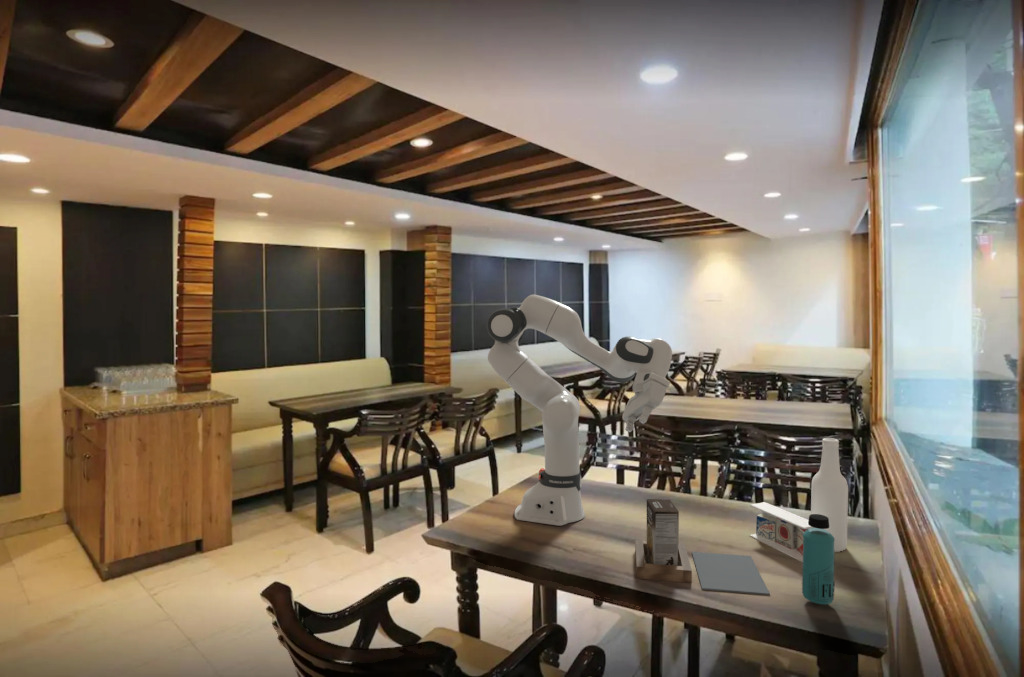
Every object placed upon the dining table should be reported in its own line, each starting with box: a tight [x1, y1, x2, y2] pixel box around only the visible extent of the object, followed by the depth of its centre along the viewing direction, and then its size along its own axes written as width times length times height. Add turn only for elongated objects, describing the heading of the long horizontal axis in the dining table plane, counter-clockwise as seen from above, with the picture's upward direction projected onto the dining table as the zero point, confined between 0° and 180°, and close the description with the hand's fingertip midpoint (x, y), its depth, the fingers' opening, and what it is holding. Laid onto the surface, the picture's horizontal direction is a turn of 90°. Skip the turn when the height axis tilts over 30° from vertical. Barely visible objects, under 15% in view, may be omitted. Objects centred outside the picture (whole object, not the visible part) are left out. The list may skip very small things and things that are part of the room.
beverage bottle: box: [801, 513, 836, 605], centre depth 126 cm, size 6×7×20 cm
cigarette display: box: [749, 501, 814, 563], centre depth 156 cm, size 20×6×9 cm, turn 21°
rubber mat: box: [691, 551, 771, 596], centre depth 142 cm, size 15×20×1 cm
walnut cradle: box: [634, 539, 693, 584], centre depth 146 cm, size 13×16×3 cm
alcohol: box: [810, 437, 849, 553], centre depth 156 cm, size 9×9×30 cm
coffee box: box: [646, 498, 680, 566], centre depth 145 cm, size 9×6×16 cm
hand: (635, 426), depth 165 cm, fingers open, 8 cm apart
